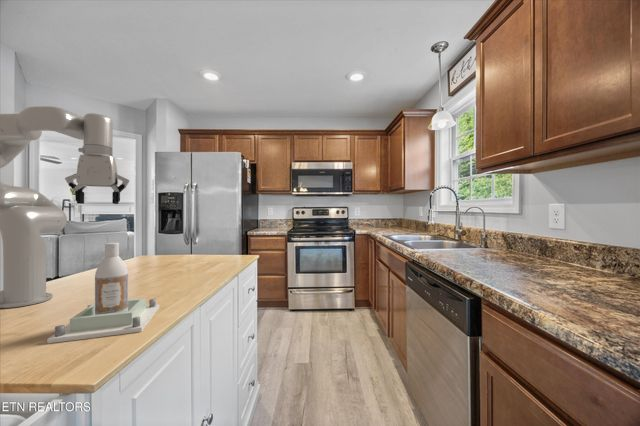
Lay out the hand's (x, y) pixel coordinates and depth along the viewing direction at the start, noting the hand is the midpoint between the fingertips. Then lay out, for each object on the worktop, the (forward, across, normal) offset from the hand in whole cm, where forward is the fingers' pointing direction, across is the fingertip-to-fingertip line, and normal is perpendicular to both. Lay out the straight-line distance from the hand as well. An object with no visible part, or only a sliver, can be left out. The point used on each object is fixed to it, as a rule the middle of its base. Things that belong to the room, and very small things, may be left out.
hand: (98, 203), depth 90 cm
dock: (+32, +12, -24) cm, 42 cm away
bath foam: (+32, +12, -24) cm, 41 cm away
